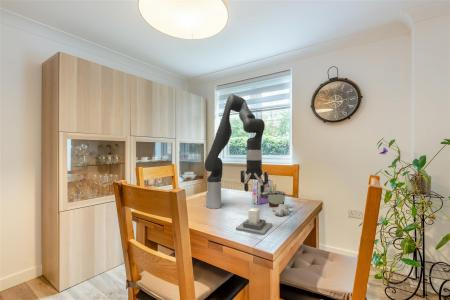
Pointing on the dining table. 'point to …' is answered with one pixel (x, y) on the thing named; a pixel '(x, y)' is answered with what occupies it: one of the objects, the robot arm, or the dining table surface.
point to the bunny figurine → (282, 209)
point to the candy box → (257, 195)
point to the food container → (276, 198)
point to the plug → (254, 216)
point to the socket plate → (254, 227)
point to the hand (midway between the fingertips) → (254, 191)
